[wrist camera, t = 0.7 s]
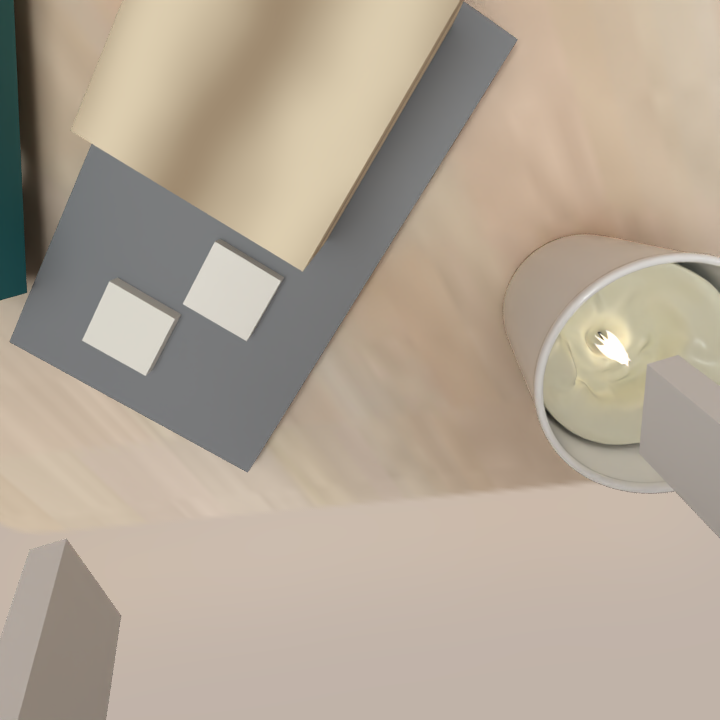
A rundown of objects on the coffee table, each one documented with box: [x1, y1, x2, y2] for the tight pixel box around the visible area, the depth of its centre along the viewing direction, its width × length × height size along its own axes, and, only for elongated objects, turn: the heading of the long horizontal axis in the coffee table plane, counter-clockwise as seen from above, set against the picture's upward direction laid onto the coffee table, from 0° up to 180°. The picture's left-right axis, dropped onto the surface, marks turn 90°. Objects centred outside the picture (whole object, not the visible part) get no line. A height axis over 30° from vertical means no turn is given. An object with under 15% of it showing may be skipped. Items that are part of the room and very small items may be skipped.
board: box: [10, 2, 518, 472], centre depth 32 cm, size 16×28×2 cm, turn 149°
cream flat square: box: [183, 239, 284, 341], centre depth 32 cm, size 4×4×1 cm
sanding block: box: [71, 0, 464, 272], centre depth 25 cm, size 10×12×9 cm
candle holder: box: [503, 234, 720, 494], centre depth 28 cm, size 10×10×12 cm
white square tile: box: [82, 278, 181, 376], centre depth 33 cm, size 4×4×1 cm
